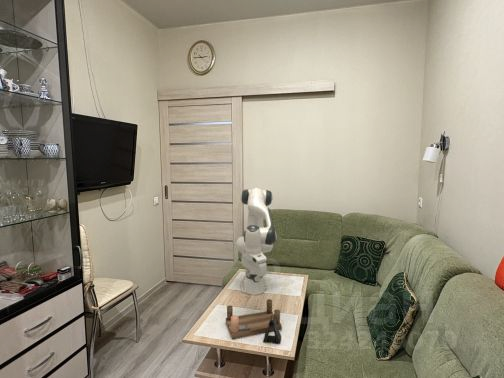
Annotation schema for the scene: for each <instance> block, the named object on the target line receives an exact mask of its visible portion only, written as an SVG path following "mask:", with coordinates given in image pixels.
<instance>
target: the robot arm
mask: <svg viewBox="0 0 504 378" xmlns="http://www.w3.org/2000/svg"><path fill="white" fill-rule="evenodd" d="M273 199H274V196H273V193H272V191H271V190H268V189H261V188H259V187H254V188H251V189H244V190H242V191H241V194H240V200H241V203H242V205H245V206H247V210H248V213H247V226H246V228H245V230H244V232H243V236H239V237H238V238H237V239H236V241H235V246H236V249H237V251H239V252H240V253H241V259H240V261H241V265H242V266H243V267H244V268H245V275H243V277H242V279H241V282H240V291H241V293H242V294H247V295H251V296H253V295H254V296H256V295H261V294H263V293H264V292H265V291H267V289H268V286H266V278H265V277H266V275H267V272H268V269H267V268H268V266H267V261H268V260H267V256H265V253H270V252H271V251H272V250H273V248H274V244H275V243H277V232H276V229H275V226H274V221H273V216H272V212H271V209H270V207H268V206H270V205H271V204H272V202H273ZM264 221H265V223H266V227H265V226H264V224H265V223H264ZM264 276H265V277H264Z"/></svg>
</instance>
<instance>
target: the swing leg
mask: <svg viewBox="0 0 504 378" xmlns="http://www.w3.org/2000/svg"><path fill="white" fill-rule="evenodd" d="M238 316H239V315H234V314H233V316H231V332H233V333H236V332H238V331H241V330H249V329H250V326H249V325H246V326H243V327H239V317H238Z"/></svg>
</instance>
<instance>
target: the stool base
mask: <svg viewBox="0 0 504 378" xmlns="http://www.w3.org/2000/svg"><path fill="white" fill-rule="evenodd" d="M233 311H234V309H233V305H230V304H229V305H227V306H226V317H225V324H226V327H227V329H228V332H229V335H230V337H231V339H232V340H236V339H242V338H246V337H247V338H249V337H252V336H258V335H262V334H265V333H266V330H267V328H268V325H269V321H270V317H271V316H272V320H273V317H274V316H275V317H276V323H277V326H278V329H279V331H282V330H283V329H282V328H283V327H282V326H283V325H282V323H281V310H280V309H279V308H277V309H274V310H273V300H272V299H266V310H265V311H259V312H254V313H247V314H242V315H237V316H238V317H239V327H243V326H246V325H249V326H250V329H249V330H241V331H238V332H236V333H233V332H231V316H233V315H234V314H233V313H234V312H233ZM269 333H274V331H273V328H270V331H269Z"/></svg>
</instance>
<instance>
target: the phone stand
mask: <svg viewBox="0 0 504 378" xmlns="http://www.w3.org/2000/svg"><path fill="white" fill-rule="evenodd" d="M270 328H273V331H274V332H273V333H274V335H269V334H270V332H269V331H270ZM280 331H281V330H279V329H278V326H277V323H276V317H275V316H274V317H273V320H272V316H271V317H270V321H269V325H268V328H267V330H266V333H264V336H263V339H262V343H268V344H275V345H281V342H282V334H281V332H280Z"/></svg>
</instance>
